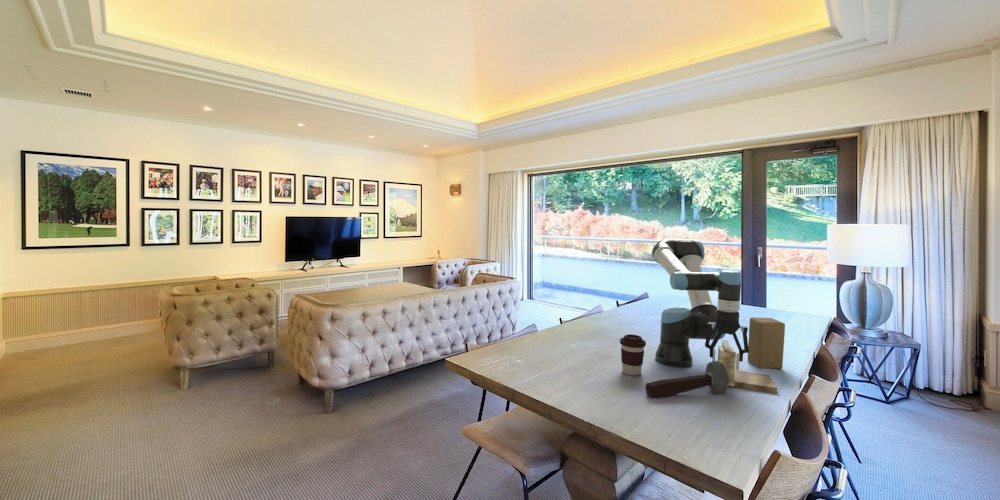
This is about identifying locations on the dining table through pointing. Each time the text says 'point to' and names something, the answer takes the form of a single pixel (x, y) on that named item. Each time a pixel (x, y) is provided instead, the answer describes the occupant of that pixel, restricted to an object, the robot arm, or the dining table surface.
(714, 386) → the hammer
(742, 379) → the board
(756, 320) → the wooden block
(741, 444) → the dining table surface
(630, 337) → the coffee cup
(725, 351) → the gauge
